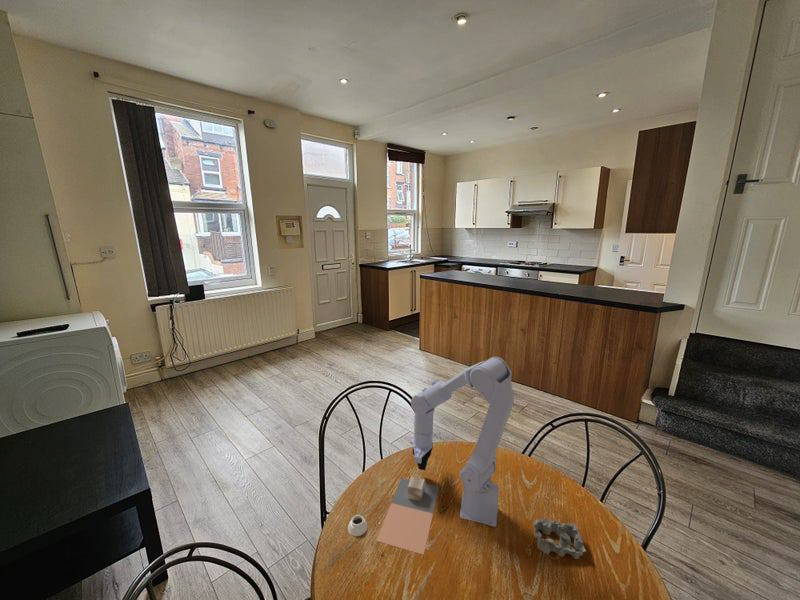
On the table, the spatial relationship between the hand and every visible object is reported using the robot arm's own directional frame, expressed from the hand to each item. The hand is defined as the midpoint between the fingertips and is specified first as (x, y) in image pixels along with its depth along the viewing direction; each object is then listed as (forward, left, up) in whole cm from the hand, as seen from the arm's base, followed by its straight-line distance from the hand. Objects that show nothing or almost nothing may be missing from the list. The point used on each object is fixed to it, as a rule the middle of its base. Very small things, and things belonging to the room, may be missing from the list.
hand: (422, 468), depth 101 cm
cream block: (0, +8, -3) cm, 8 cm away
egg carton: (-37, +12, -4) cm, 39 cm away
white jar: (+12, +23, -4) cm, 26 cm away
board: (0, +13, -3) cm, 13 cm away
